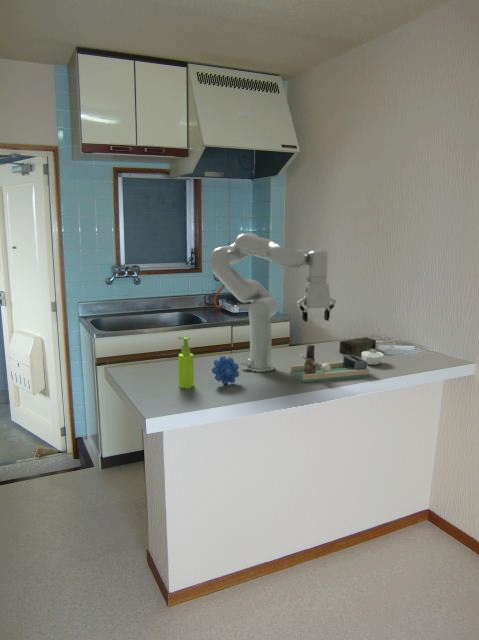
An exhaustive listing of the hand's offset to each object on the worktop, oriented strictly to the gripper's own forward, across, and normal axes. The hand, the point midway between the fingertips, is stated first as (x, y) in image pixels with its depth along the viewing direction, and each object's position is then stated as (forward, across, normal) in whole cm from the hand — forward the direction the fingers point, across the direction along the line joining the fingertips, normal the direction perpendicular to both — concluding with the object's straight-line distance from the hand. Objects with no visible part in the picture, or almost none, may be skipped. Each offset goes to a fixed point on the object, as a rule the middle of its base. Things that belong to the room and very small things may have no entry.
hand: (315, 320), depth 215 cm
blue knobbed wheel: (+24, -40, -4) cm, 47 cm away
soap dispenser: (+24, -56, -1) cm, 61 cm away
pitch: (+24, +6, -2) cm, 25 cm away
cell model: (+24, +33, +9) cm, 42 cm away
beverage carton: (+24, +37, +31) cm, 54 cm away
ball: (+21, +5, -2) cm, 21 cm away
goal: (+22, +18, -1) cm, 29 cm away
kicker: (+22, -3, -2) cm, 23 cm away
